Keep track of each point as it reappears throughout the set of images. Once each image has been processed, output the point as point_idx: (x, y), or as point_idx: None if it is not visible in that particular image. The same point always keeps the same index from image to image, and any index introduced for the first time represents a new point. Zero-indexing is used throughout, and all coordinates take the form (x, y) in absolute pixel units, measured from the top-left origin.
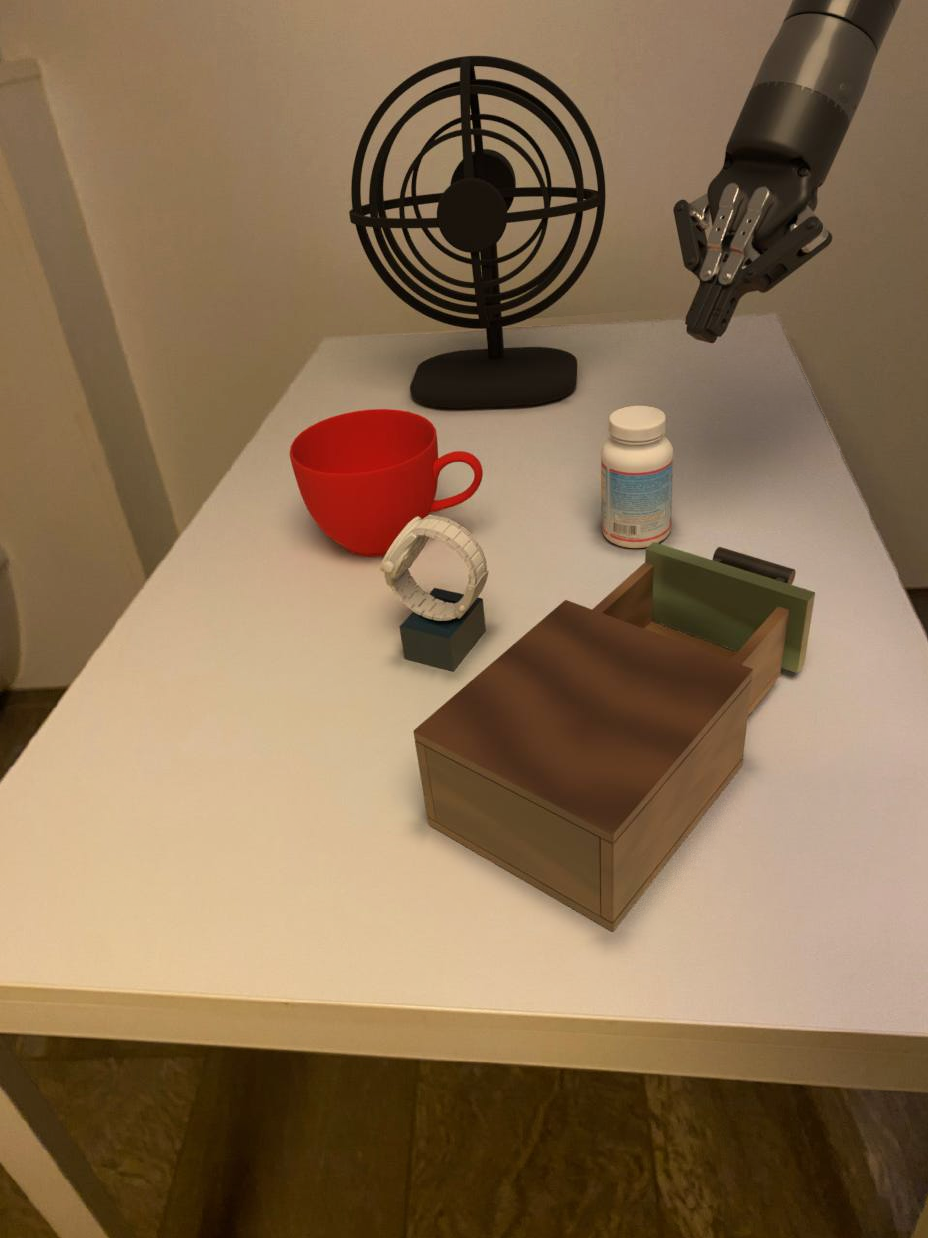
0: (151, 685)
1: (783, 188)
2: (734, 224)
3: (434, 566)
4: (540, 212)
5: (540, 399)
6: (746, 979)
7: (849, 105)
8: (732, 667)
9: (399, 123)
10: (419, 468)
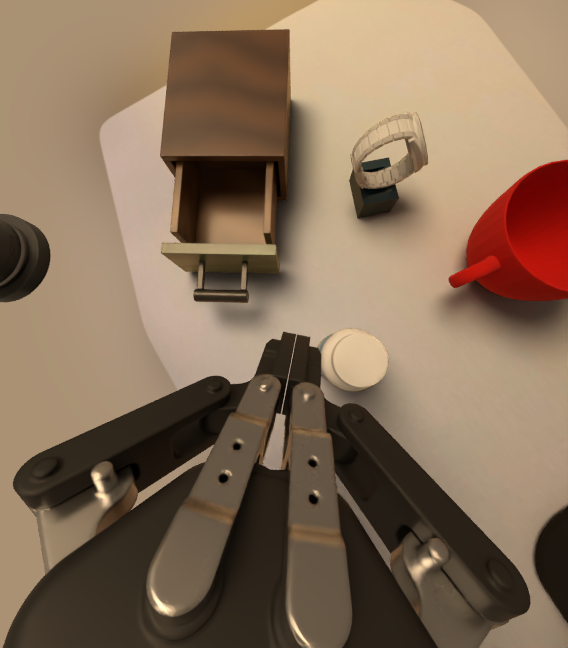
0: (485, 86)
1: (106, 643)
2: (280, 494)
3: (432, 255)
4: None
5: (549, 528)
6: (149, 110)
7: None
8: (169, 150)
9: None
10: (495, 230)
